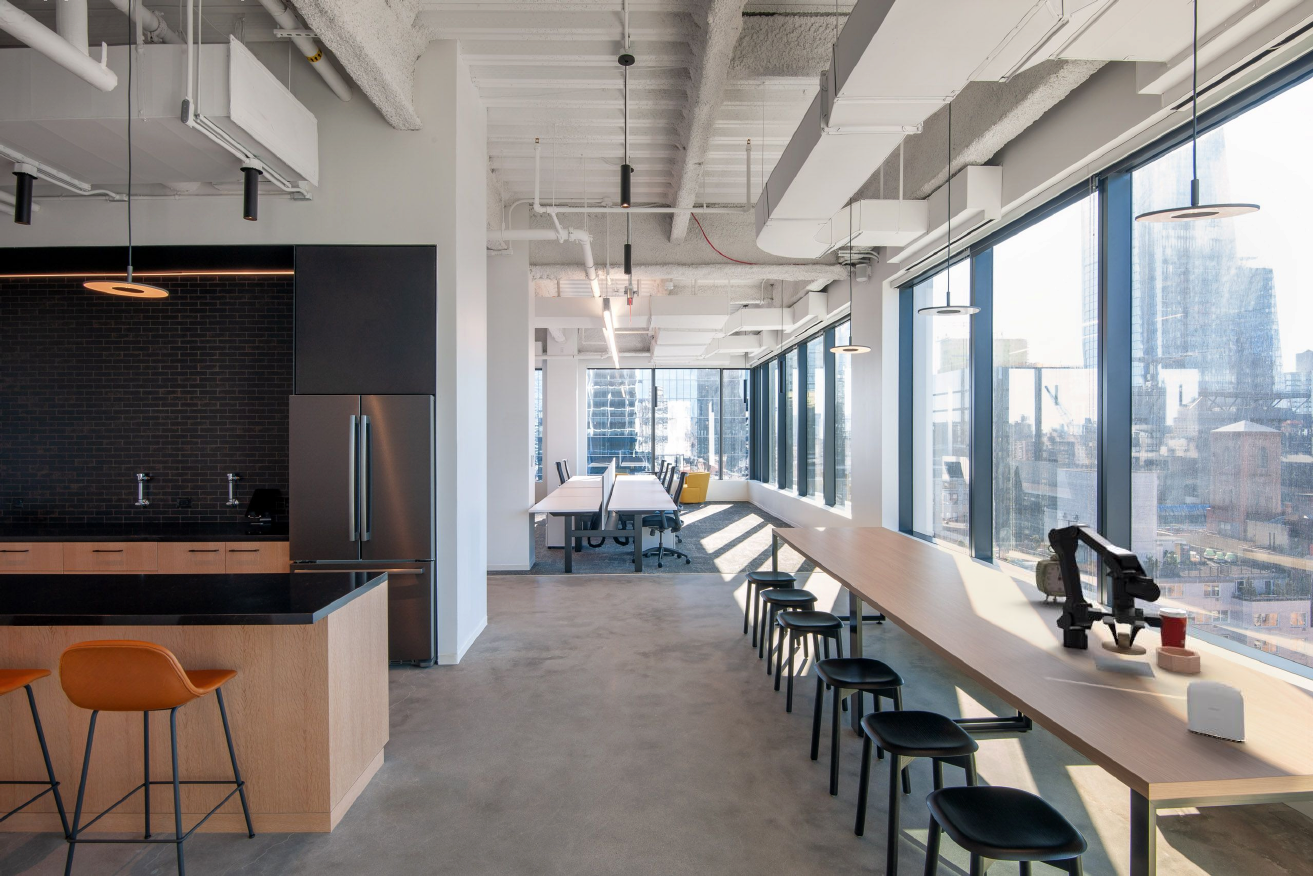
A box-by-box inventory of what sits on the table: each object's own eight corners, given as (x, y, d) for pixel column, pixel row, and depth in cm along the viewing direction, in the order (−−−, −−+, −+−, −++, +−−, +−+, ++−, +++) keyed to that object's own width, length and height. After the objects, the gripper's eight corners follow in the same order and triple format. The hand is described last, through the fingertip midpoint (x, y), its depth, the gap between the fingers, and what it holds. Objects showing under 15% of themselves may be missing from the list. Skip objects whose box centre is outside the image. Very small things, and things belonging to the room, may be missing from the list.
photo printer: (1186, 732, 157) (1185, 679, 157) (1188, 726, 160) (1187, 675, 160) (1244, 745, 150) (1243, 690, 150) (1245, 739, 153) (1244, 685, 153)
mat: (1097, 671, 198) (1097, 669, 198) (1094, 657, 210) (1094, 655, 210) (1155, 679, 191) (1155, 677, 191) (1148, 664, 203) (1148, 662, 203)
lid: (1103, 651, 198) (1103, 635, 198) (1100, 641, 208) (1100, 626, 208) (1148, 657, 193) (1148, 641, 193) (1143, 647, 202) (1143, 631, 202)
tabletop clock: (1042, 605, 275) (1042, 544, 275) (1034, 599, 284) (1033, 541, 284) (1080, 606, 273) (1080, 545, 273) (1070, 600, 282) (1070, 541, 282)
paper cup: (1194, 658, 208) (1193, 613, 208) (1166, 657, 210) (1165, 612, 210) (1179, 650, 216) (1179, 607, 216) (1153, 649, 217) (1152, 606, 217)
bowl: (1159, 671, 198) (1159, 654, 198) (1154, 661, 206) (1154, 644, 206) (1202, 676, 192) (1202, 659, 192) (1195, 666, 201) (1195, 649, 201)
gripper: (1087, 596, 198) (1088, 648, 198) (1165, 603, 188) (1166, 658, 188) (1085, 588, 208) (1086, 638, 208) (1160, 595, 198) (1160, 647, 198)
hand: (1123, 645), depth 200 cm, fingers closed on lid, 3 cm apart
